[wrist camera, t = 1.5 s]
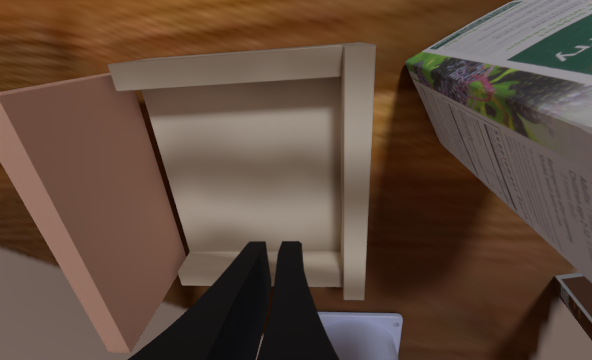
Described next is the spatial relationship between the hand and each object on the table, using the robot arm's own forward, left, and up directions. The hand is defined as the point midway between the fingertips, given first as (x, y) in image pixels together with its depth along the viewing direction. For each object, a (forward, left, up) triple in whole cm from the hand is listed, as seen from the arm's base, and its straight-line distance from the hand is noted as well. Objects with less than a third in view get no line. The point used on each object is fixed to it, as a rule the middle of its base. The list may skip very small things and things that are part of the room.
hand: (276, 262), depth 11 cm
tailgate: (0, +9, -7) cm, 12 cm away
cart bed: (0, +2, -9) cm, 10 cm away
